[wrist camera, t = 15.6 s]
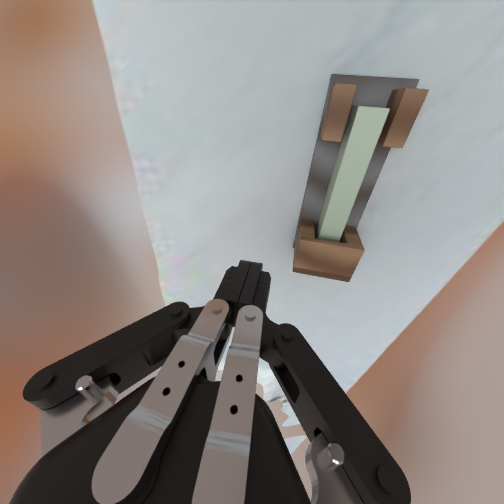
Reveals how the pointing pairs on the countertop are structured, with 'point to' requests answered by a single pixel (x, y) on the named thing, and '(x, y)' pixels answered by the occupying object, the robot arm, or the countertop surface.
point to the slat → (350, 169)
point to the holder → (325, 154)
